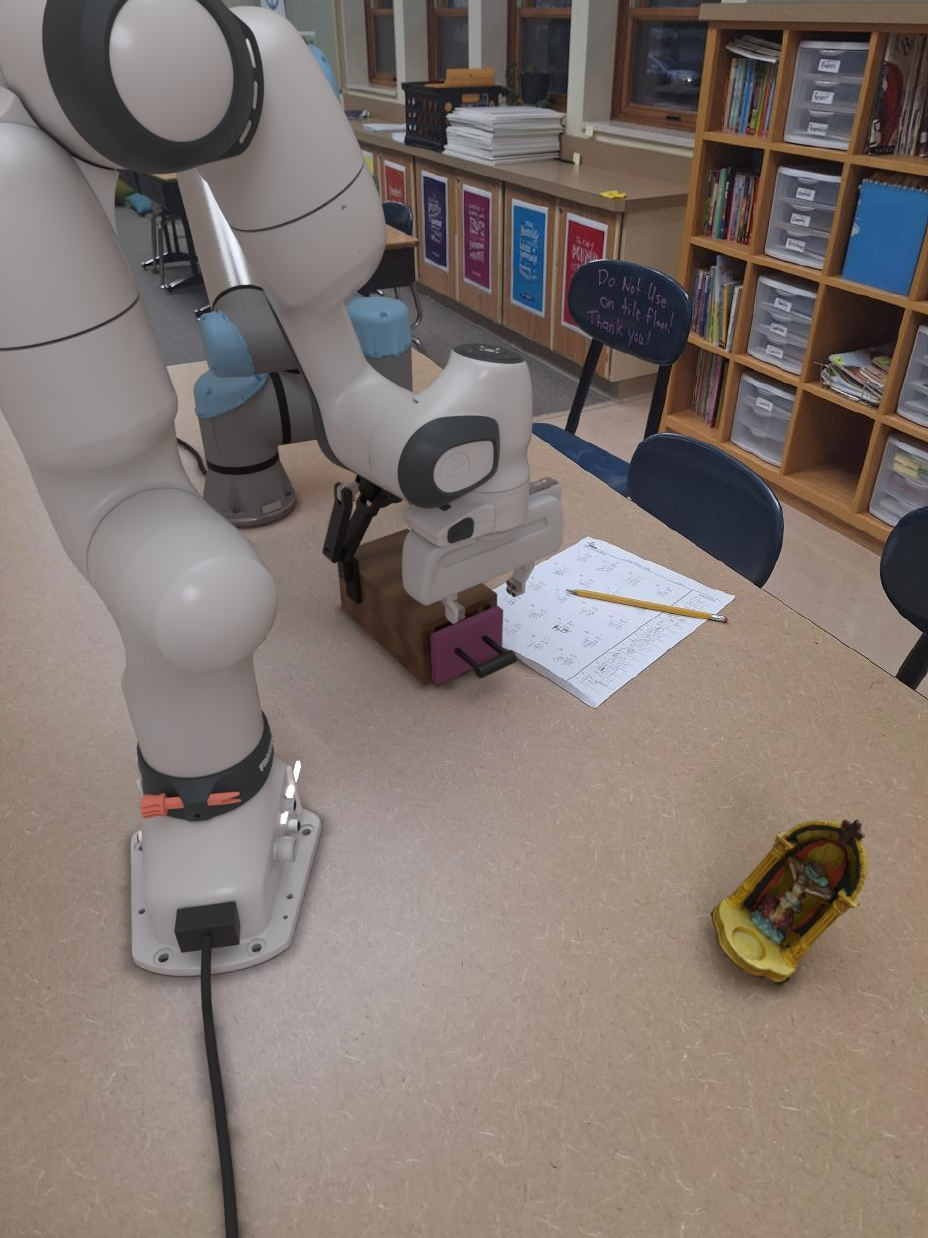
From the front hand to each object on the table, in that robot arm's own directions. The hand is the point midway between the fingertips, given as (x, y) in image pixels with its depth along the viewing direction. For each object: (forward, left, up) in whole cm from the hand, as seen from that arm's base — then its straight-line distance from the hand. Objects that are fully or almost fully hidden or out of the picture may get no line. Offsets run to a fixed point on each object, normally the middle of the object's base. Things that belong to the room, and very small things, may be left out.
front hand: (486, 606), depth 99 cm
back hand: (+18, +10, -8) cm, 22 cm away
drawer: (+8, +5, -11) cm, 15 cm away
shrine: (-39, -20, -12) cm, 45 cm away
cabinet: (+13, +8, -12) cm, 19 cm away
